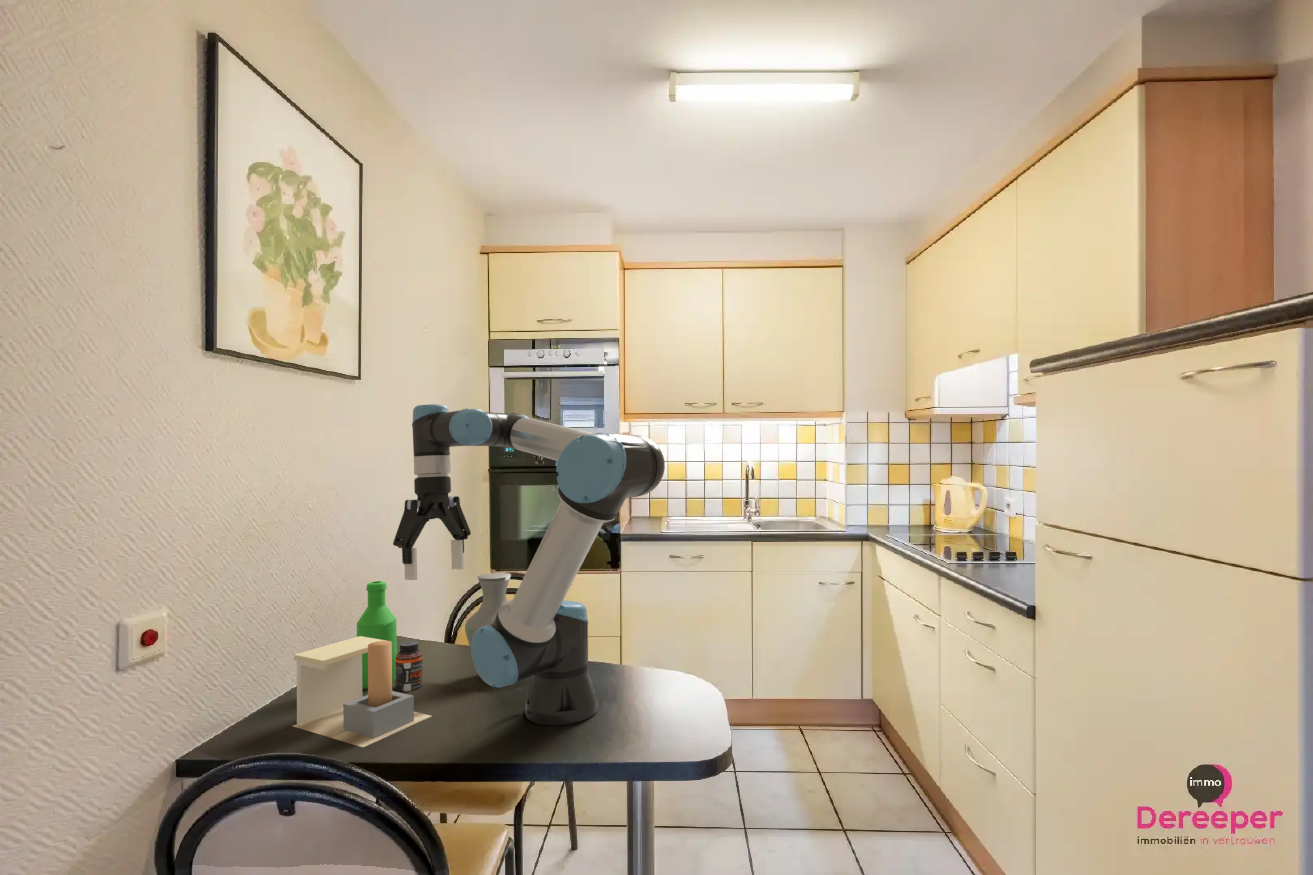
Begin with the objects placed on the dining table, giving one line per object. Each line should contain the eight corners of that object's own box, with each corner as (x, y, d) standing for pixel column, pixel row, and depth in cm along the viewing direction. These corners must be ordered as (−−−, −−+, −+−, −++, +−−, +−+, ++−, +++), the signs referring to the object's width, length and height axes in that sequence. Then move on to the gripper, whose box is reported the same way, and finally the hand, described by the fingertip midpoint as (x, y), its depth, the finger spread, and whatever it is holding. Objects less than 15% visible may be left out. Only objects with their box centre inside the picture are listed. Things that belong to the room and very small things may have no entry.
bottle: (398, 678, 159) (397, 577, 160) (395, 690, 150) (394, 583, 151) (359, 683, 156) (358, 580, 157) (354, 695, 148) (353, 587, 149)
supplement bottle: (413, 697, 146) (412, 647, 146) (390, 695, 147) (389, 646, 147) (427, 688, 152) (427, 639, 152) (405, 686, 153) (404, 639, 153)
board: (432, 721, 131) (432, 715, 131) (363, 753, 117) (363, 747, 117) (362, 704, 142) (362, 698, 142) (292, 731, 128) (292, 725, 128)
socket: (413, 720, 129) (413, 695, 129) (374, 738, 121) (373, 711, 121) (383, 713, 133) (383, 688, 134) (343, 729, 125) (343, 703, 126)
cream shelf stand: (389, 706, 137) (388, 640, 137) (323, 733, 124) (323, 660, 124) (360, 699, 142) (360, 635, 142) (294, 724, 128) (293, 654, 129)
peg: (396, 722, 128) (396, 642, 129) (378, 730, 124) (377, 647, 125) (382, 718, 130) (382, 639, 131) (363, 726, 127) (363, 645, 127)
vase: (485, 665, 168) (483, 569, 169) (535, 668, 164) (533, 570, 165) (453, 684, 154) (452, 579, 155) (507, 688, 150) (505, 581, 151)
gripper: (459, 475, 152) (462, 564, 151) (372, 478, 129) (375, 583, 128) (484, 473, 149) (487, 565, 147) (400, 476, 126) (403, 585, 125)
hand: (435, 574), depth 138 cm, fingers open, 13 cm apart
